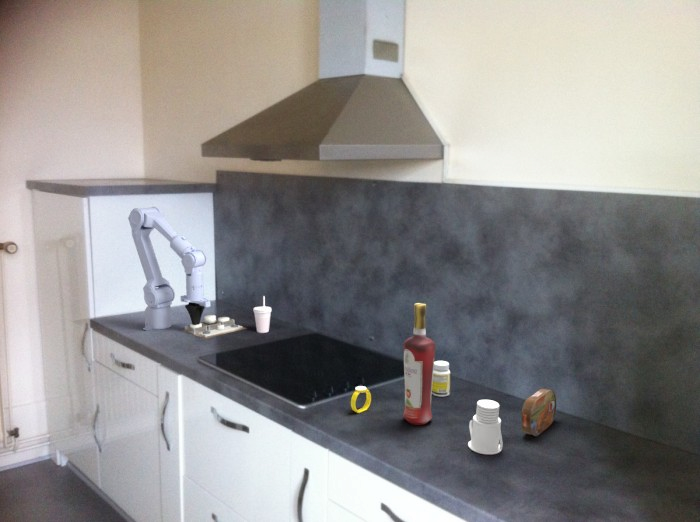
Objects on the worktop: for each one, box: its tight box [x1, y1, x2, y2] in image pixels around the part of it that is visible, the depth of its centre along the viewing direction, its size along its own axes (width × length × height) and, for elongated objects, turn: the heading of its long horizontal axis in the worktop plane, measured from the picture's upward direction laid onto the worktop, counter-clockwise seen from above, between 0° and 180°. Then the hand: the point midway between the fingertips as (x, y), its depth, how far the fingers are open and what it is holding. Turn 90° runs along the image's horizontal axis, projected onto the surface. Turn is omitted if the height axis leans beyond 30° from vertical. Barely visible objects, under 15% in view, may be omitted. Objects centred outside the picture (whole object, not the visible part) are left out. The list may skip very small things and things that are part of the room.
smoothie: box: [252, 295, 273, 334], centre depth 225 cm, size 6×6×14 cm
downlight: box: [467, 399, 504, 455], centre depth 137 cm, size 8×7×10 cm
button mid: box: [203, 314, 217, 324], centre depth 228 cm, size 4×4×2 cm
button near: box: [189, 322, 202, 328], centre depth 224 cm, size 4×4×2 cm
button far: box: [217, 316, 230, 322], centre depth 233 cm, size 4×4×2 cm
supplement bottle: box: [432, 360, 451, 398], centre depth 169 cm, size 5×5×8 cm
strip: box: [198, 324, 244, 337], centre depth 225 cm, size 4×16×2 cm, turn 139°
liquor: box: [402, 302, 436, 426], centre depth 150 cm, size 7×7×28 cm
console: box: [181, 317, 248, 339], centre depth 227 cm, size 14×18×4 cm
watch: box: [350, 385, 372, 414], centre depth 157 cm, size 6×3×6 cm, turn 136°
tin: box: [521, 388, 557, 437], centre depth 147 cm, size 15×3×8 cm, turn 142°
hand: (195, 324), depth 224 cm, fingers closed, pressing on button near
